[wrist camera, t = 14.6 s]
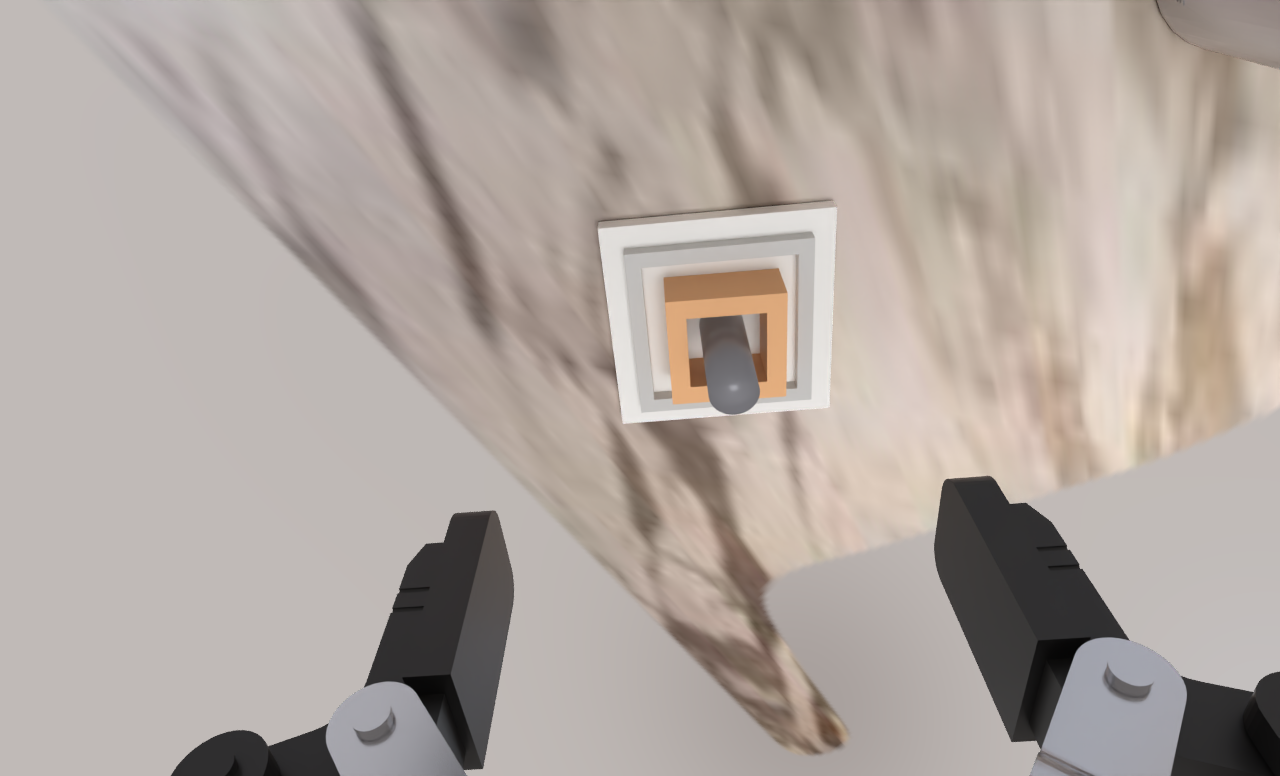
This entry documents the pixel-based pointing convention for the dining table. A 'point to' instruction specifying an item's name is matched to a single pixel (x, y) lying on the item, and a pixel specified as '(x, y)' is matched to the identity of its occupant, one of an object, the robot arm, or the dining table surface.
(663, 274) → the post base
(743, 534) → the dining table surface
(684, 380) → the ring
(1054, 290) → the dining table surface
